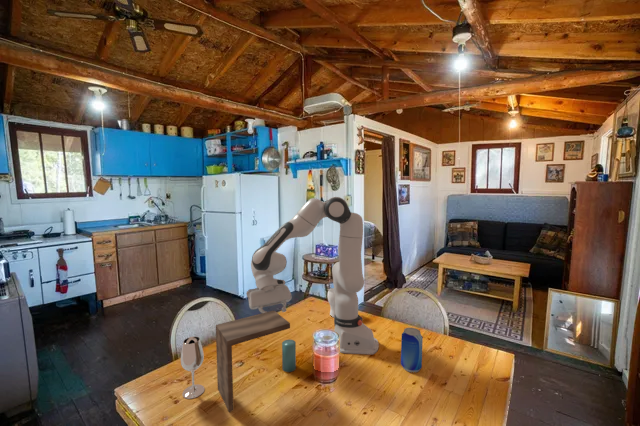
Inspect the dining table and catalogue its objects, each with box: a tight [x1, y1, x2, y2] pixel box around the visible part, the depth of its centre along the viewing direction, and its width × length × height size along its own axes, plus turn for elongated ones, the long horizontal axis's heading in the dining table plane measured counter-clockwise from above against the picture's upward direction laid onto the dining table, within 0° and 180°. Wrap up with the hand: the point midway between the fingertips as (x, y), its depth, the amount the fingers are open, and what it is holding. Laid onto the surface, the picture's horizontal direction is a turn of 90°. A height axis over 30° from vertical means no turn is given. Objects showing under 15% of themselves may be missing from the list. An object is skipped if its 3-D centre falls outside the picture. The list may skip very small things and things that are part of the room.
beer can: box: [400, 327, 424, 373], centre depth 124 cm, size 8×8×16 cm
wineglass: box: [180, 336, 205, 400], centre depth 109 cm, size 8×8×20 cm
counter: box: [215, 310, 291, 413], centre depth 111 cm, size 14×24×25 cm, turn 124°
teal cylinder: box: [281, 339, 297, 373], centre depth 124 cm, size 6×6×11 cm
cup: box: [326, 287, 335, 318], centre depth 176 cm, size 11×11×15 cm
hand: (275, 313), depth 134 cm, fingers open, 8 cm apart
